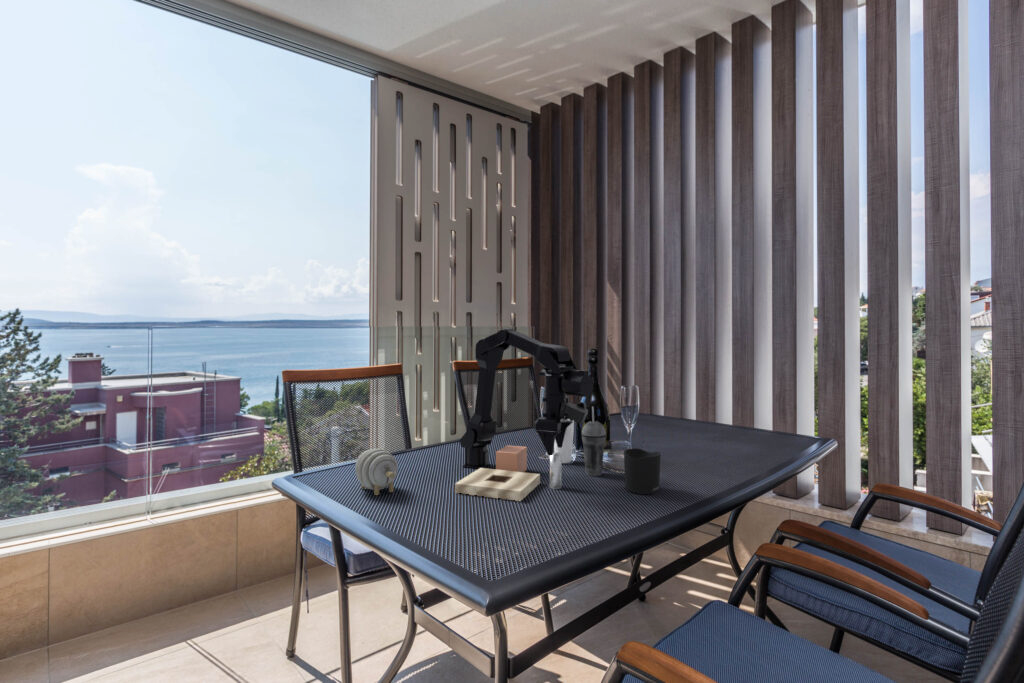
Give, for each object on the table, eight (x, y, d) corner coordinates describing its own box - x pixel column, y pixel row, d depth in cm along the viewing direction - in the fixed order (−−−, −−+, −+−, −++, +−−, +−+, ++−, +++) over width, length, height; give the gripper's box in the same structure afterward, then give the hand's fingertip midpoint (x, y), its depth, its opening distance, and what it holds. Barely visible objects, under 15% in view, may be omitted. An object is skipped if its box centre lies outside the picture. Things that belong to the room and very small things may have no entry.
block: (495, 475, 152) (495, 452, 152) (506, 467, 160) (506, 445, 160) (517, 478, 150) (517, 453, 150) (526, 469, 158) (526, 446, 158)
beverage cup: (609, 472, 155) (609, 405, 155) (602, 478, 149) (602, 408, 148) (585, 469, 158) (585, 403, 158) (577, 475, 152) (578, 406, 151)
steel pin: (548, 488, 140) (548, 454, 140) (551, 484, 143) (551, 452, 143) (559, 489, 139) (559, 455, 139) (562, 486, 142) (562, 453, 142)
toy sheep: (377, 480, 147) (377, 441, 147) (413, 493, 136) (413, 451, 135) (343, 488, 140) (342, 447, 139) (377, 503, 128) (377, 458, 128)
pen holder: (631, 496, 133) (631, 457, 133) (618, 485, 143) (618, 448, 142) (666, 494, 135) (666, 456, 135) (651, 483, 144) (651, 447, 144)
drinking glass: (573, 459, 170) (573, 413, 170) (573, 464, 163) (574, 417, 163) (552, 458, 171) (552, 413, 170) (552, 464, 164) (552, 416, 164)
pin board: (455, 493, 136) (455, 483, 136) (480, 476, 151) (480, 467, 151) (520, 501, 130) (520, 491, 130) (540, 483, 145) (540, 474, 145)
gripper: (576, 399, 129) (576, 462, 129) (592, 390, 146) (592, 446, 147) (533, 397, 133) (533, 458, 133) (554, 388, 150) (553, 442, 151)
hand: (555, 451), depth 141 cm, fingers open, 9 cm apart
